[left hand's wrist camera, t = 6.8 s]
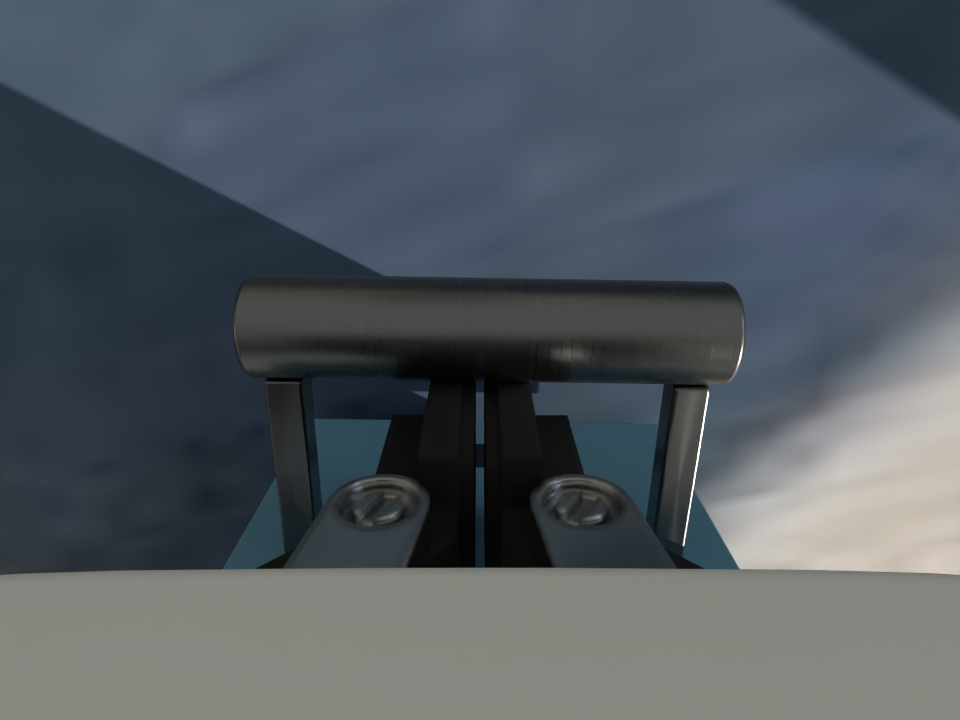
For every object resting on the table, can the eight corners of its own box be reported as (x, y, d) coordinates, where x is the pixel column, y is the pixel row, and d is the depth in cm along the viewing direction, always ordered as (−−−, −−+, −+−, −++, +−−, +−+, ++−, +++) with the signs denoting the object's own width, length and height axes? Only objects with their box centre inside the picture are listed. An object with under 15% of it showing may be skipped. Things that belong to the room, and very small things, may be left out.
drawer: (290, 219, 15) (69, 336, 7) (683, 226, 15) (915, 350, 7) (342, 780, 22) (262, 1158, 14) (609, 784, 22) (681, 1163, 14)
